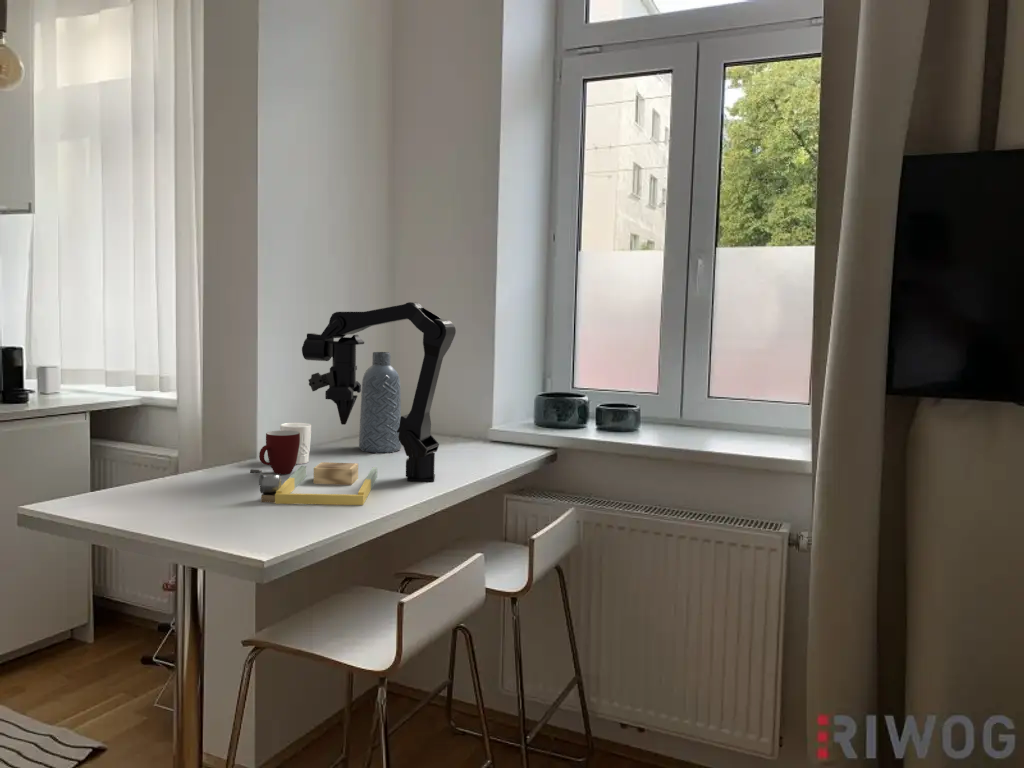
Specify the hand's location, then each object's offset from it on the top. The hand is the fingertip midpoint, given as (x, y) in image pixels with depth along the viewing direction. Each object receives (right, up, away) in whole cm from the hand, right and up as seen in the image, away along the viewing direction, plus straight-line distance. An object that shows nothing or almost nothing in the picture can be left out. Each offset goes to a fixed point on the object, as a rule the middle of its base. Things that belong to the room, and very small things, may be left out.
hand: (343, 424), depth 207 cm
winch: (-11, -15, -30) cm, 35 cm away
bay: (+1, -14, -19) cm, 23 cm away
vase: (+4, -9, +33) cm, 35 cm away
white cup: (-15, -11, +11) cm, 22 cm away
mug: (-15, -12, -4) cm, 20 cm away
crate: (0, -13, -10) cm, 17 cm away
